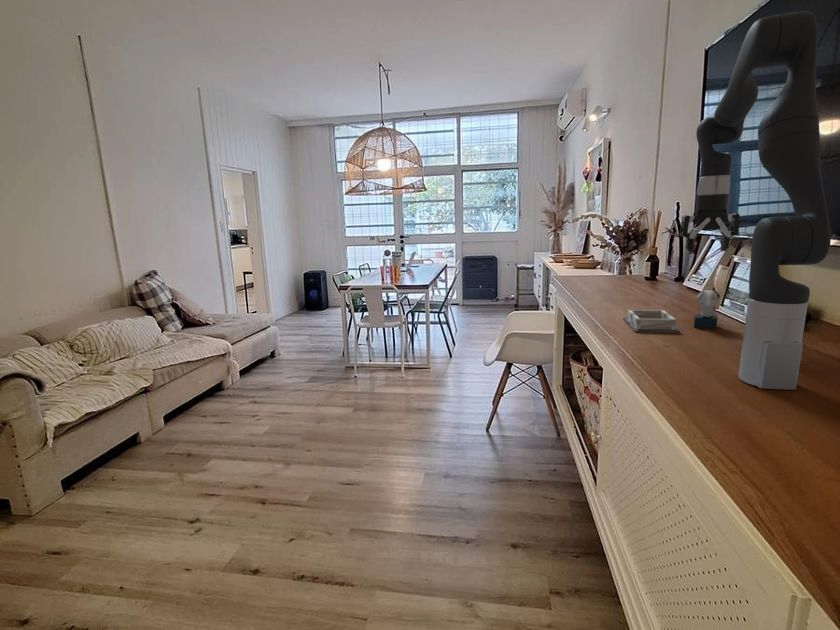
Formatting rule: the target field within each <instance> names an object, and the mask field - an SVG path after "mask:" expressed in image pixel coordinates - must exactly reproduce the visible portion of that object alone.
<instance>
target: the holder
mask: <svg viewBox="0 0 840 630" xmlns="http://www.w3.org/2000/svg"><path fill="white" fill-rule="evenodd" d="M623 319H624V320H623ZM622 320H623V321H624V322H625V323H626V324H627V326H630V327H631V328H632V329H633V330H634V331H633V330H632V329H631V328H630V329H631V330H632V331H633V333H635V332H653V333H652V334H681V330H680V329H678V328H677V318H675V317H673V316H672V315H671V314H670V313H668V312H667V311H665V309H627V312H626V317H623V318H622Z"/></svg>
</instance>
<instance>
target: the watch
mask: <svg viewBox="0 0 840 630" xmlns="http://www.w3.org/2000/svg"><path fill="white" fill-rule="evenodd" d="M695 299H696V300H698V302H699V306H700V307H701V314H694V318H693V328H696V329H704V330H705V329H706V330H707V329H709V330H717V327H718V326H717V325H718V316H717V315H712V314H713V306H714V305H715V303H716V302H717V300H718V294H717V293H716V291H715V290H710V289H708V290H707V289H704V290H701V291H700V292H699V293H698V294H697V295H696V296H695Z"/></svg>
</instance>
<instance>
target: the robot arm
mask: <svg viewBox="0 0 840 630" xmlns="http://www.w3.org/2000/svg"><path fill="white" fill-rule="evenodd" d="M818 30H819V29H818V21H817V17H816V14H815V13H814V12H813V11H809V10H803V11H801V10H800V11H795V12H788V13H781V14H780V13H779V14H775V15H773V14H772V15H769V16H764V17H761V18H759V19H757V20H756V21H755V22H754V23H753V24H752V25H751V27H750V28H749V30H748V31H747V33H746V35H745V38H744V40H743V42H742V45H741V48H740V51H739V54H738V57H737V59H736V62H735V64H734V67H733V70H732V74H731V76H730V80H729V83H728V85H727V88H726V91H725V92H724V94H723V96H722V97H721V99H720V102H719V103H718V105H717V107H716V108H715V111H714V113H713V115H714V116H713V117H706V118H704V119H703V120H701V121H700V122H699V124H698V125H697V127H696V131H695V134H696V136H695V137H696V140H697V145H698V149H699V154H700V170H699V178H698V179H699V180H698V183H697V190H696V201H695V202H696V203H695V209H694V210H695V213H694V215H687V214H685V215H682V216H681V224H680V229H679V236H680V237H684V238H685V239H686V240H685V241H686V242H685V243H686V244H685V249H686V250H687V251H688V253H693V252H694V244H695V239H694V238H695V237H696V235H697V234H698V233H701V231H709V230H710V231H712V230H713V231H718V232H719V233H720V234H721V236H722V237H721V241H720V251H721V252H726V251H727V250H728V249H729V248H730V239H731V237H733V236H738V235H739V233H740V217H741V215H740V213H736V212H733V213H729V214H728V205H729V196H730V186H731V179H730V178H731V168H732V161H733V159H732V155H731V154H730V153H727V152H720V151H716V150H715V148H714V146H715V145H724V144H732V143H734V142H736V141H738V140H739V139H740V138H741V136H742V135H743V130H744V124H745V120H746V117H747V115H748V114H749V112H750V111H751V109H753V107H754V105H755V103H756V102H757V99H758V97H759V87H758V84H757V81H756V79H755V76H754V75H753V71H754V70H755V69H764V68H770V67H771V68H772V67H778V66H786V67H787V79H786V81H785V83H784V84H785V85H784V86H783V88H782V90H781V91H780V92H779V94H778V95H777V96H776V99H775V100H774V101H773V102H772V104H771V105H770V106H769V108H768V109H767V111H766V112H765V113H764V116H763V117H762V118H761V120H760V122H759V125H758V127H757V128H758V129H757V141H758V142H757V144H758V145H757V147H758V158H759V161H760V163H761V165H762V166H763V168H764V169H765V171H766V172H767V173H768V174H769V175H770V177H772V178H773V179H774V180H775V182H776V183H777V184H779V185H780V187H781V188H782V189H783V190H784V191H785V193H786V195H787V196H788V197H789V199H790V202H791V204H792V208H793V212H794V216H793V215H789V216H788V215H787V216H772V217H771V216H770V217H764V218H762V219H761V220H759V221H758V223H757V224H756V226H755V227H754V230H753V234H752V238H751V246H750V247H751V249H750V267H749V275H748V276H749V278H748V291H749V292H748V297H747V304H746V305H747V306H746V313H745V321H744V330H743V334H742V335H743V337H742V342H741V343H742V344H741V354H740V361H739V370H738V379H739V380H741V381H742V382H744V383H746V384H749V385H752V386H756V387H757V388H758V389H765V390H768V389H769V390H786V391H787V390H793V391H795V390H797V383H798V378H799V372H800V371H799V370H800V366H801V361H802V360H801V359H802V354H803V348H804V347H803V346H804V344H803V343H802V342H803V337H804V336H803V335H804V329H805V323H806V317H807V314H808V313H807V312H808V304H809V299H810V295H811V294H810V293H811V291H810V290H811V289H810V288H809V287H808V285H805V284H803V283H801V282H796V281H793V280H789V279H787V278H786V277H784V276H782V275H781V274H780V266H807V265H808V266H809V265H811V266H812V265H817V264H819V263H821V262H822V261H824V260H825V258H826V257H827V256H828V253H829V252H830V248H831V247H830V246H831V243H832V242H831V240H832V232H831V231H832V230H831V224H830V223H831V222H830V217H829V211H828V206H827V201H826V197H825V190H824V185H823V176H822V166H821V165H822V164H821V137H820V136H821V134H820V132H821V131H820V120H819V111H818V101H817V100H818V99H817V98H818V97H817V84H816V83H817V82H816V80H817V79H816V78H817V77H816V76H817V75H816V73H817V57H818V55H817V54H818V53H817V52H818V35H819V34H818V33H819V31H818ZM727 220H728V222H730V226H729V227H730V228H729V230H728V227H727V226H726V225H725V223H726V222H727ZM692 221H693V222H694V223H695V224H694V225H693V227H692V228H690V230H689V226H690V223H692ZM688 231H689V232H688Z"/></svg>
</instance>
